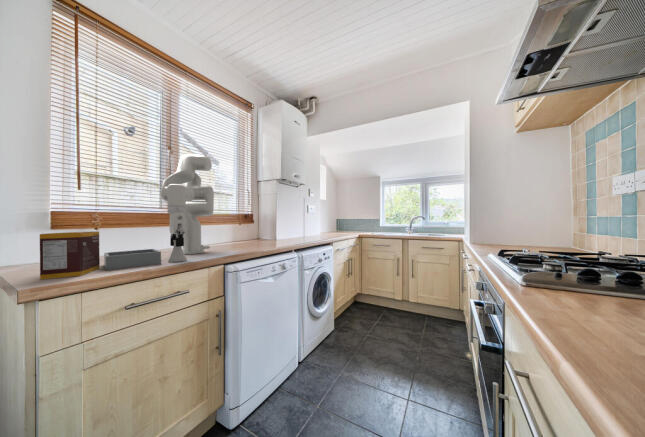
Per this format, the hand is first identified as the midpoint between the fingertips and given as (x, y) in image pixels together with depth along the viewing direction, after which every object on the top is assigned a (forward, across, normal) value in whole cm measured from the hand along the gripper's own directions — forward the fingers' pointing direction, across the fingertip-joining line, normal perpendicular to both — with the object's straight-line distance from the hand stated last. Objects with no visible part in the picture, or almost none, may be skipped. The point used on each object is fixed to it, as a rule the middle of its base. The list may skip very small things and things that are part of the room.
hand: (177, 246), depth 109 cm
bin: (+7, +8, +16) cm, 19 cm away
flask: (+7, +1, 0) cm, 8 cm away
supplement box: (+8, +2, +34) cm, 34 cm away
